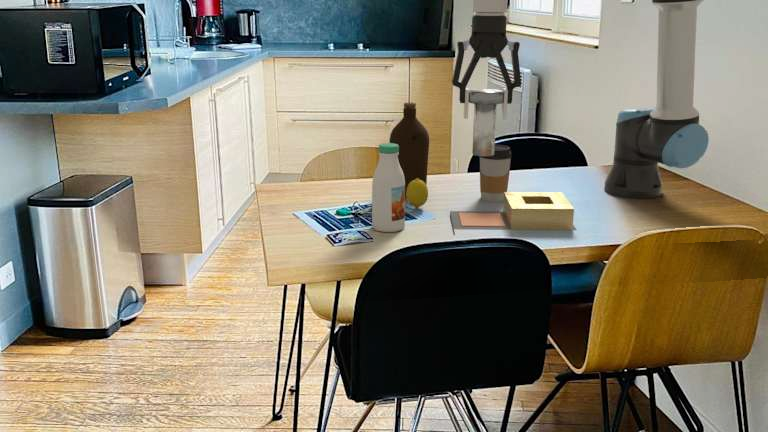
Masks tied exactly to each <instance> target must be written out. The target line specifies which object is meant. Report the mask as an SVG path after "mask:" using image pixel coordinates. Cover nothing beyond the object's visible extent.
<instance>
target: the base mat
mask: <svg viewBox="0 0 768 432" xmlns="http://www.w3.org/2000/svg"><path fill="white" fill-rule="evenodd" d="M449 219H450V220H449V221H450V224H451V228H452V233H453V236H455V235H456V234H455V230H492V231H493V230H494V231H496V230H500V231H501V230H504V231H505V230H506V231H507V230H510V231H511V230H513V231H515V230H516V231H517V229H510V226H509V224H508V222H507V220H506V217H505V215H504V213H503V211H490V210H489V211H481V210H479V211H478V210H477V211H475V210H474V211H473V210H471V211H468V210H467V211H466V210H465V211H464V210H459V211H458V210H450V211H449ZM571 231H577V228H576V227H575V225H574V224H573V229H572V230H571Z"/></svg>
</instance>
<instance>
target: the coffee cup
mask: <svg viewBox="0 0 768 432" xmlns="http://www.w3.org/2000/svg"><path fill="white" fill-rule="evenodd" d="M512 156H513V155H512V151H511V147H510V146H508V145H503V144H495V146H494V155H492V156H478V157H479V187H480V188H479V189H480V190H479V191H480V199H481V200H482V201H485V202H491V203H492V202H493V203H494V202H495V203H497V202H498V203H499V202H504V192H508V188H509V178H510V169H511V160H512V159H511V158H512Z"/></svg>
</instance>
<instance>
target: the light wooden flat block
mask: <svg viewBox="0 0 768 432" xmlns="http://www.w3.org/2000/svg"><path fill="white" fill-rule="evenodd" d="M502 202H503V203H502V204H503V205H502V207H503V208H502V212H503V213H504V215H505V217H506V220H507V222H508V224H509V226H510V229H517V230H518V231H519V230H521V231H526V230H528V231H534V230H535V231H573V230H572V229H573V225H574V215H575V208H574V207H573V206H572V204H571V203H570V201H569V200H568V199H567V198H566V196H565V195H564V193H563V192H562V191H559V192H558V191H557V192H555V191H553V192H551V191H550V192H549V191H548V192H547V191H539V192H538V191H537V192H536V191H507V192H504V201H502ZM517 230H516V231H517Z"/></svg>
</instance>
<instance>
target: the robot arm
mask: <svg viewBox="0 0 768 432" xmlns="http://www.w3.org/2000/svg"><path fill="white" fill-rule="evenodd" d="M703 1H704V0H651V3H652V5H654V7H655V8H656V9H658V10H657V11H658V24H657V25H658V26H657V33H658V34H657V65H656V66H657V67H656V69H657V70H656V72H657V73H656V77H657V78H656V106H655V108H654V107H649V108H648V107H646V108H643V107H642V108H641V107H640V108H638V107H637V108H626V109H621V110H620V111H619V113H618V114H617V119H616V123H615V125H616V126H615V127H616V128H615V129H616V130H615V139H614V140H615V141H614V151H613V152H614V153H613V162H612V165H611V167H610V170H609V171H608V174H607V176H606V179H605V181H604V188H603V189H604V192H606V193H608V194H610V195H613V196H618V197H621V198H628V199H630V198H631V199H653V198H658V197H660V196H661V195H662V193H663V192H662V191H663V184H662V183H663V182H662V179H661V174H660V170H659V164H662V165H665V166H667V167H668V168H669V167H670V168H675V169H688V168H690V167H693V166H694V165H696V164H697V163H699V161H700V159H701V158H702V157H704V155H705V153H706V151H707V149H708V146H709V141H710V140H709V139H710V137H709V133H708V131H707V130H706V129H705V126H703V125H701V124H700V112H699V110H698V109H696V107H695V106H694V93H695V91H694V90H695V66H696V65H695V63H696V44H697V43H696V42H697V41H696V39H697V20H698V19H697V12H698V7H699V5H701V4H702V2H703ZM508 3H509V2H508V0H472V13H474V14H475V15H472V17H471V35H470V37H469V39H466V40H458V41H457V43H456V45H457V56H456V60H455V61H456V62H455V65H454V69H453V74H452V80H451V84H452V85H453V86H454V87H457V88H458V89H459V100H458V101H459V103H460V104H463V119H469V90H470V89H469V88H468V87H467V86H468V83H469V81H470V79H471V77H472V75H473V73H474V71H475V69H476V67H477V64H478V62H479V61H480V59H486V58H490V59H495V61H496V63H497V65H498V69H499V70H500V73H501V76H502V79H503V80H504V81H503V82H504V83H505V87H506V88H505V87H504V88H502V91H504V101H503V103H502V104H501V119H503V120H506V119H507V114H508V104H512V102H513V92H514V89H515V88H519V87H521V86H522V79H521V78H522V77H521V76H522V75H521V69H520V61H519V60H520V59H519V50H520V45H521V43H520V42H519V41H517V40H515V41H514V40H508V37H507V19H508V17H507V16H506V15H505V14H506V13H507V12H508ZM468 46H471V48H472V50H473V52H474V53H473V55H472V58H471V60H470V62H469V64H468V66H467V69H466V70H465V72H464V75H463V76H462V79H461V81H459V80H460V77H461V76H460V75H461V71H462V66H463V62H464V56H465V51H467V50H468ZM507 46H508V50H509V51H510V54H511V63H512V73H513V79H514V80H513V81H512V79H511V77H510V74H509V72H508V69H507V65H506V63H505V61H504V57H503V55H502V52H503V50H504V49H506V47H507Z"/></svg>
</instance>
